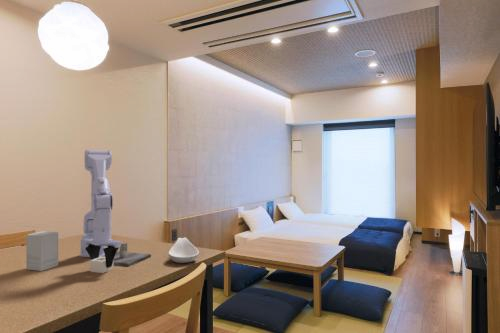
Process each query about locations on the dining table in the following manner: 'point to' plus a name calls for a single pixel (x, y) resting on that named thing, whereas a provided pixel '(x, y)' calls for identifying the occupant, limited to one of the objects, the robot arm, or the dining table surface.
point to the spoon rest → (183, 251)
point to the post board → (128, 256)
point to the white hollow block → (100, 265)
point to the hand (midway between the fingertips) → (102, 266)
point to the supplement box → (41, 250)
